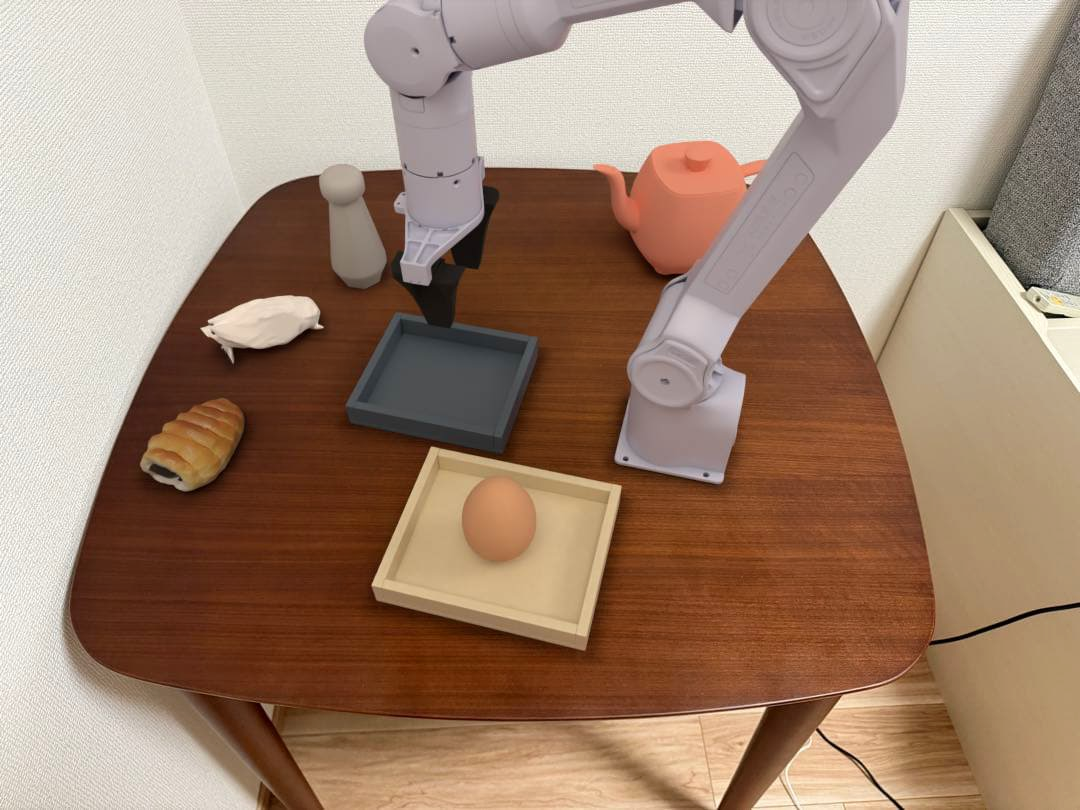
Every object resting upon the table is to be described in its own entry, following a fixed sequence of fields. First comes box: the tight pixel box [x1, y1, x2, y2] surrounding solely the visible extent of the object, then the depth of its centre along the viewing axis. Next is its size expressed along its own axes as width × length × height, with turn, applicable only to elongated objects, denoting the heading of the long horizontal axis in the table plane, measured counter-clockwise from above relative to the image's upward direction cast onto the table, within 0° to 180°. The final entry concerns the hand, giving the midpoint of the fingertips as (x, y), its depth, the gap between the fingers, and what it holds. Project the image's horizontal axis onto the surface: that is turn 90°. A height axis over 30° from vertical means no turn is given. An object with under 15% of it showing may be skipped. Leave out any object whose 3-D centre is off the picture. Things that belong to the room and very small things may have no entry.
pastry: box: [139, 397, 246, 493], centre depth 72 cm, size 9×7×4 cm
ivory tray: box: [370, 446, 623, 652], centre depth 65 cm, size 17×14×2 cm
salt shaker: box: [318, 163, 388, 290], centre depth 83 cm, size 6×6×13 cm
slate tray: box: [345, 311, 539, 455], centre depth 77 cm, size 15×13×2 cm
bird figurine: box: [200, 295, 325, 364], centre depth 80 cm, size 5×7×10 cm
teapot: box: [592, 140, 768, 276], centre depth 86 cm, size 13×20×12 cm, turn 100°
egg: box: [462, 476, 536, 562], centre depth 63 cm, size 6×6×8 cm
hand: (454, 293), depth 71 cm, fingers open, 7 cm apart
